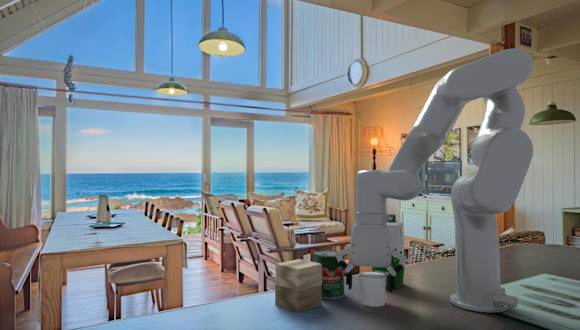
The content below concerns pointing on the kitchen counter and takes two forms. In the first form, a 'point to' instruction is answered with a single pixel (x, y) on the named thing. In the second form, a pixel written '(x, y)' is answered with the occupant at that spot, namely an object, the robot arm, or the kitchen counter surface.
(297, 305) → the block lower
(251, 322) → the kitchen counter surface
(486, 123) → the robot arm
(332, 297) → the canned tomato
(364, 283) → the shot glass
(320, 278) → the block upper
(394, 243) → the milk carton
